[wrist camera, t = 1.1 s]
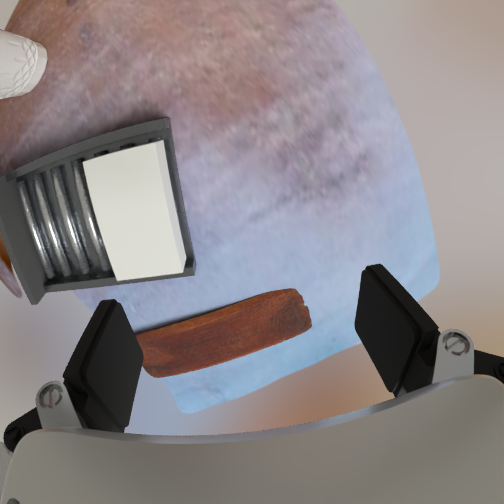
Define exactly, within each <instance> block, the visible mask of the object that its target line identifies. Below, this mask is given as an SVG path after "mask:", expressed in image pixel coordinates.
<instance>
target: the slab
mask: <svg viewBox="0 0 504 504" xmlns="http://www.w3.org/2000/svg"><path fill="white" fill-rule="evenodd" d="M83 167H84V172H85V176H86V181H87V185H88V189H89V193H90V197H91V201H92V205H93V208H94V212H95V216H96V219H97V223H98V226H99V229H100V233H101V236H102V239H103V242H104V245H105V248H106V251H107V254H108V257H109V260H110V263H111V266H112V268H113V271H114V274H115V276H116V279H117V281H121V280H129V279H137V278H145V277H153V276H161V275H169V274H177V273H183V270H184V266H185V261H186V254H185V250H184V245H183V241H182V236H181V232H180V227H179V222H178V218H177V213H176V208H175V203H174V198H173V193H172V188H171V182H170V177H169V171H168V165H167V159H166V153H165V147H164V141H163V140H161V141H157V142H152V143H148V144H143V145H139V146H135V147H131V148H127V149H123V150H119V151H116V152H112V153H109V154H105V155H102V156H98V157H95V158H92V159H90V160H87V161H84V162H83Z"/></svg>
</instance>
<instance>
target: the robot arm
mask: <svg viewBox="0 0 504 504" xmlns="http://www.w3.org/2000/svg"><path fill="white" fill-rule="evenodd" d="M438 328H439V327H438V326H437V325H436V324H435V322H434V321H433V320H432V319H431V318H430V317H429V315H428V314H427V313H426V312H425V311H424V310H423V308H422V307H421V306H420V305H419V304H418V303H417V302H416V300H415V299H414V298H413V297H412V296H411V295H410V294H409V293H408V292H407V291H406V289H405V288H404V287H403V286H402V285H401V284H400V283H399V282H398V281H397V280H396V279H395V278H394V277H393V276H392V275H391V274H390V272H389V271H388V270H387V269H386V268H385V267H384V266H383V265H381V264H375V265H370V266H367V267H366V268H365V270H363V271H362V275H361V283H360V291H359V298H358V305H357V311H356V318H355V330H356V332H357V334H358V336H359V338H360V339H361V341H362V343H363V345H364V346H365V348H366V350H367V352H368V354H369V356H370V358H371V359H372V361H373V363H374V365H375V367H376V369H377V370H378V372H379V374H380V376H381V378H382V380H383V382H384V384H385V386H386V388H387V390H388V391H389V392H393V394H394V396H395V398H393V399H391V400H388V401H385V402H382V403H379V404H376V405H373V406H369V407H366V408H363V409H360V410H356V411H353V412H350V413H346V414H343V415H338V416H335V417H331V418H326V419H322V420H318V421H313V422H309V423H304V424H299V425H293V426H288V427H282V428H276V429H269V430H262V431H254V432H245V433H235V434H222V435H201V436H200V435H199V436H161V435H142V434H130V433H124V429H125V427H127V426H128V425H129V420H130V416H131V411H132V406H133V401H134V397H135V393H136V388H137V384H138V379H139V375H140V371H141V367H142V363H143V359H144V355H143V351H142V349H141V347H140V345H139V343H138V341H137V338H136V336H135V334H134V332H133V330H132V328H131V325H130V323H129V321H128V319H127V316H126V314H125V312H124V309H123V307H122V305H121V303H119V302H117V301H116V300H115V299H110V300H102V301H101V302H100V303H99V305H98V307H97V308H96V310H95V312H94V314H93V316H92V317H91V320H90V321H89V323H88V325H87V327H86V329H85V331H84V332H83V335H82V336H81V338H80V340H79V342H78V344H77V346H76V348H75V350H74V352H73V354H72V356H71V358H70V361H69V363H68V365H67V367H66V369H65V371H64V373H63V378H64V379H65V380H64V382H63V383H62V382H60V381H51V382H48V383H46V384H45V385H43V386H42V387H41V388H40V390H39V391H38V393H37V396H36V406H37V407H35V408H34V409H32V410H31V411H29V412H27V413H26V414H24V415H23V416H21V417H19V418H18V419H16V420H15V421H13V422H11V424H9V425H8V426H7V428H6V430H5V432H4V443H2V442H0V504H504V357H500V356H496V355H493V354H488V353H485V352H481V351H478V350H474V345H473V342H472V340H471V338H470V337H469V336H468V335H467V334H466V333H464V332H462V331H460V330H457V329H448V330H445V331H443V332H442V333H440V332H439V331H438Z"/></svg>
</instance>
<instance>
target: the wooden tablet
mask: <svg viewBox="0 0 504 504" xmlns="http://www.w3.org/2000/svg"><path fill="white" fill-rule="evenodd" d="M311 327H312V324H311V318H310V314H309V309H308V307H307V306H305V305H304V301H303V298H302V296H301V295H300V294H299V293H298V291H297V290H296V289H291V288H289V289H283V290H275V291H270V292H266V293H263V294H260V295H257V296H255V297H252V298H249V299H247V300H244V301H241V302H238V303H236V304H232V305H230V306H227V307H224V308H222V309H219V310H216V311H213V312H211V313H207V314H204V315H201V316H198V317H195V318H191V319H189V320H185V321H181V322H177V323H174V324H171V325H167V326H164V327H161V328H157V329H153V330H149V331H145V332H141V333H138V334H135V336H136V338H137V341H138V343H139V345H140V347H141V349H142V351H143V355H144V359H143V363H142V366H143V367H144V369H145V370H146V371H147V373H149V374H150V375H151V376H153V377H156V378H160V377H167V376H173V375H178V374H182V373H187V372H191V371H195V370H199V369H202V368H207V367H210V366H214V365H217V364H220V363H224V362H227V361H230V360H233V359H236V358H238V357H242V356H245V355H248V354H250V353H253V352H256V351H259V350H261V349H264V348H267V347H270V346H272V345H275V344H278V343H280V342H283V341H284V340H288V339H290V338H293V337H295V336H297V335H299V334H302V333H304V332H305V331H307V330H309V329H310V328H311Z"/></svg>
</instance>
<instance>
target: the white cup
mask: <svg viewBox="0 0 504 504" xmlns="http://www.w3.org/2000/svg"><path fill="white" fill-rule="evenodd" d="M46 63H47V52H46V49H45V48H44V47H43V45H42V44H40V43H37V42H34V41H31V40H30V39H28V38H26V37H22V36H20V35H17V34H14V33H11V32H8V31H4V30H1V29H0V99H4V98H8V97H14V96H22V95H24V94H26V93H28V92H30V91H31V90H32V89H33V88H34V87H35V86H36V85H37V84H38V83H39V81H40V79H41V77H42V75H43V73H44V71H45V67H46Z"/></svg>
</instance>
